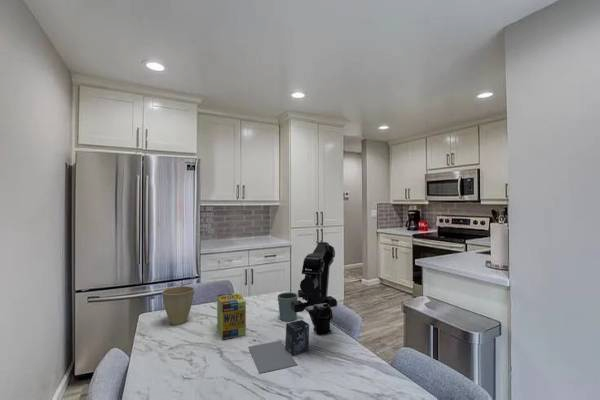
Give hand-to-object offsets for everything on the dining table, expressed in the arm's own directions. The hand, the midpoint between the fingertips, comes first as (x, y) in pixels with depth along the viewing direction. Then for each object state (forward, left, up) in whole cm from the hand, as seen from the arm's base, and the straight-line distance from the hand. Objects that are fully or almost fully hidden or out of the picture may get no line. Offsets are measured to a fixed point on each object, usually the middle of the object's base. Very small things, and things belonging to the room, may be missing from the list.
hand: (314, 324), depth 118 cm
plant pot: (+53, -49, -9) cm, 73 cm away
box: (+8, 0, -9) cm, 12 cm away
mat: (+18, 0, -9) cm, 20 cm away
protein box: (+30, -28, -9) cm, 42 cm away
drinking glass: (+1, -32, -9) cm, 33 cm away
